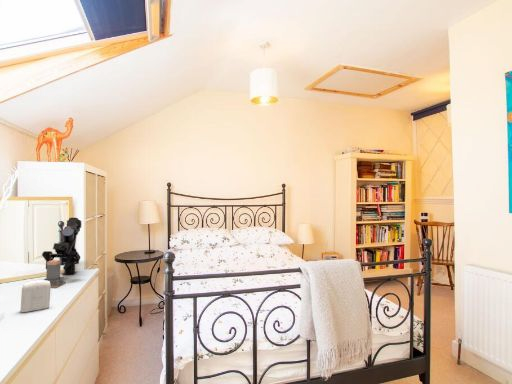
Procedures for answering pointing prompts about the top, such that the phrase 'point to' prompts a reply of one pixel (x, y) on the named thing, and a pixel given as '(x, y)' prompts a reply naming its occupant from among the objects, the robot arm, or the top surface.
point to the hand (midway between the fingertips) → (55, 269)
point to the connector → (53, 270)
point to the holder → (57, 282)
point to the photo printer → (35, 295)
